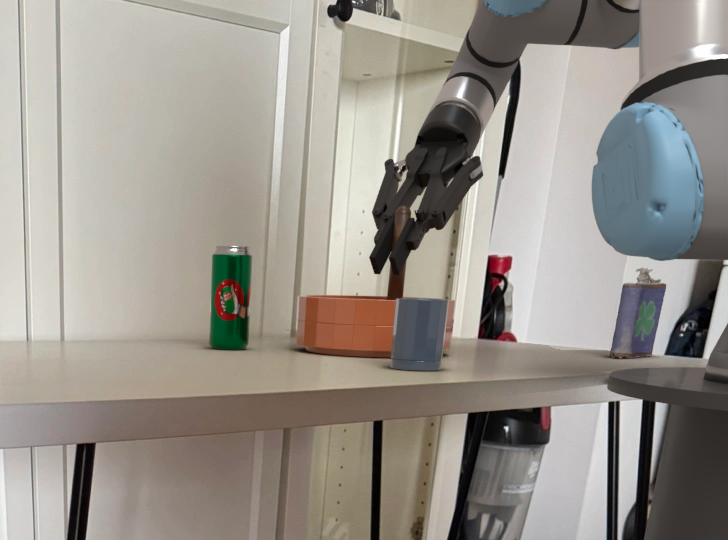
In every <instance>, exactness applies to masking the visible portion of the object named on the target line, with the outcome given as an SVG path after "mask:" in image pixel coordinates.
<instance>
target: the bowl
mask: <svg viewBox="0 0 728 540" xmlns="http://www.w3.org/2000/svg"><path fill="white" fill-rule="evenodd" d="M403 298H420V297H419V296H418V297H416V296H403ZM426 298H427V299H440V298H439V297H437V298H436V297H426ZM446 299H447V300H449V306H448V315H447V323H446V332H445V341H444V349H443V351H448V350H450V349H451V347H452V339H453V330H454V321H455V310H456V304H457V299H451V298H446ZM296 300H297V303H296V319H295V337H294V343H295V345H298V346H302V347H305V351H306V352H309V353H313V354H320V355H328V356H329V355H330V356H341V357H354V358H355V357H357V358H358V357H359V358H384V359H386V358H387V359H391V348H392V337H393V327H394V317H395V306H396V300H387V295H358V294H357V295H354V294H353V295H351V294H350V295H349V294H348V295H347V294H345V295H344V294H299V295H297V299H296Z"/></svg>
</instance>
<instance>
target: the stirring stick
mask: <svg viewBox="0 0 728 540" xmlns="http://www.w3.org/2000/svg"><path fill="white" fill-rule="evenodd" d="M408 218H412V210H411V207H410V208H409V207H407V206H404V205H403V206H400V207H398V208H397V210H396V212H395V218H394V229H393V239H392V250H393V248H394V246H395V244H396V242H397V240H398V238H399V236H400V234H401V232H402V230H403V228H404V226H405V224H406V222H407V220H408ZM392 250H391V252H392ZM407 260H408V259H407ZM407 260H406V262H405V264H404V266H403V268H402V270H401V272H400V274H399V275H394V274H393V271H392V267H391V264H390V263H389V271H388V283H387V295H386V296H387V300H396V298H403V297H404V289H405V280H406V270H407V262H408V261H407Z"/></svg>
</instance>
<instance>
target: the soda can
mask: <svg viewBox="0 0 728 540" xmlns="http://www.w3.org/2000/svg"><path fill="white" fill-rule="evenodd" d="M250 249H251V248H250V246H245V245H215V246H214V251H213V252H212V254H211V269H210V270H211V271H210V301H209V302H210V303H209V306H210V307H209V338H208V339H209V340H208V344H209V346H210V347H211V348H212V349H215V350H223V351H224V350H225V351H240V350H242V351H243V350H245V349H246V348H247V347H248V346H249V343H250V342H249V341H250V340H249V339H250V319H251V318H250V317H251V296H252V295H251V294H252V272H253V255H252V253H251V251H250Z"/></svg>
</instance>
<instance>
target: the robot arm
mask: <svg viewBox="0 0 728 540" xmlns="http://www.w3.org/2000/svg"><path fill="white" fill-rule="evenodd" d="M528 45H549V46H573V47H587V48H588V47H589V48H602V49H604V48H605V49H611V50H621V49H626V48H628V49H631V48H632V49H633V48H638V82H637V83H635V85H634V86H633V87H632V88H631V89H630V90H629V91H628V92H627V94H626V95H624V97H623V99H622V102H621V104H620V110H619V111H618V112H616V114H615V115H614V116H613V117H612V119H610V121H609V122H608V123H607V125H606V127H605V129H604V130H603V133H602V135H601V137H600V140H599V142H598V146H597V149H596V153H595V154H596V158H597V163H596V164H594V165H593V168H592V176H591V203H592V210H593V216H594V220H595V223H596V226H597V229H598V231H599V233H600V235H601V237H602V238H603V240H604V241H605V242H606V244H608V245H609V246H610V247H612V248H613V250H614V251H615V252H617V253H619V254H622V255H624V256H629V257H640V258H648V259H651V260H654V261H659V262H666V261H674V260H713V261H715V260H716V261H728V0H479V3H478V5H477V8H476V11H475V13H474V16H473V19H472V21H471V24H470V26H469V28H468V30H467V32H466V34H465V36H464V39H463V41H462V44H461V46H460V49H459V51H458V53H457V56H456V58H455V60H454V62H453V64H452V67H451V69H450V71H449V73H448V75H447V77H446V79H445V82H444V83H443V85H442V87H441V88H440V90H439V91H438V94H437V95H436V98H435V100H434V102H433V103H432V105H431V106H430V109H429V112H428V113H427V116H426V118H425V119H424V122H423V123H422V125H421V127H420V129H419V131H418V133H417V136H416V140H415V143H414V146H413V148H412V149H411V150H410V151H409V152H407V154H406V155H405V158H404V159H401V160H400V161H396V162H395V161H394V159H393V158H388V159H386V160H385V161H384V171H385V173H384V175H383V178H382V181H381V184H380V187H379V190H378V193H377V195H376V199H375V202H374V205H373V208H372V210H371V215H372V217H373V221H374V224H375V227H376V230H377V231H376V232H375V235H374V237H373V243H374V246H373V249H372V251H371V252H370V255H369V257H368V258H369V261H370V265H371V267H372V270H373V274H374V275H381V273H382V271H383V269H384V267H385V265H386V263H387V261H389V265H390V264H391V267H392V271H393V274H394V275H399V274H400V272H401V270H402V268H403V266H404V264H405V262H406V263H407V261H406V260H408V258H409V256H410V254H411V253H412V251H416V250H418V249H419V248H420V246H421V243H422V241H423V239H424V237H425V235H426V234H427V233H429V231H430V230H431V229H432V230H433V229H435V230H436V231H441V230H443V229H444V228H445V227H446V226H447V223H449V221H450V220H451V218H452V217H453V215H454V214H455V212H456V210H457V209H458V207H459V206H460V204H461V203H462V202H463V200H464V199H465V197H466V195H467V194H468V192H469V191H470V189H471V188H472V187H473V186H474V185H475V184H476V183H477V182H479V181H480V180H481V179H482V178H483V176H484V171H483V165H482V161H481V160H482V159H481V156H479V155H475V156H473V155H474V153H475V150H476V149H477V147H478V145H479V143H480V139H481V138H482V136H483V134H484V133H485V130H486V128H487V126H488V124H489V122H490V120H491V118H492V115H493V113H494V111H495V109H496V107H497V104H498V103H499V101H500V100H501V97H502V95H503V94H504V92H505V90H506V88H507V85H508V84H509V82H510V81H511V79H512V77H513V75H514V74H515V71H516V69H517V66H518V64H519V61H520V59H521V57H522V55H523V53H524V51H525V49H526V48H527V46H528ZM404 173H406V174H405V179H404V181H403V176H404ZM402 181H403V182H402ZM401 182H402V184H401V185H400V183H401ZM399 186H400V187H399ZM422 194H423V195H422ZM418 196H422V197H421V200H420V203H419V206H418V209H414V215H415V217H411V218H408V220H407V222H406V224H405V226H404V228H403V230H402V232H401V234H400V236H399V238H398V240H397V242H396V244H395V246H394V248H393V250H392V239H393V229H394V218H395V212H396V210H397V208H398V207H400V206H403V205H404V206H407V207H409V208H410V209H411V208H412V206H413V204H414V203H415V201H416V199H417V198H418ZM415 218H416V219H415ZM391 250H392V252H391ZM705 368H706V370H705V375H704V379H706V380H709V381H713V382H718V383H724V384H728V322H727V323H726V325H725V327H724V329H723V331H722V333H721V334H720V336H719V338H718V339H717V341H716V343H715V345H714V346H713V349H712V350H711V352H710V354H709V357H708V361H707V363H706V366H705Z"/></svg>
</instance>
